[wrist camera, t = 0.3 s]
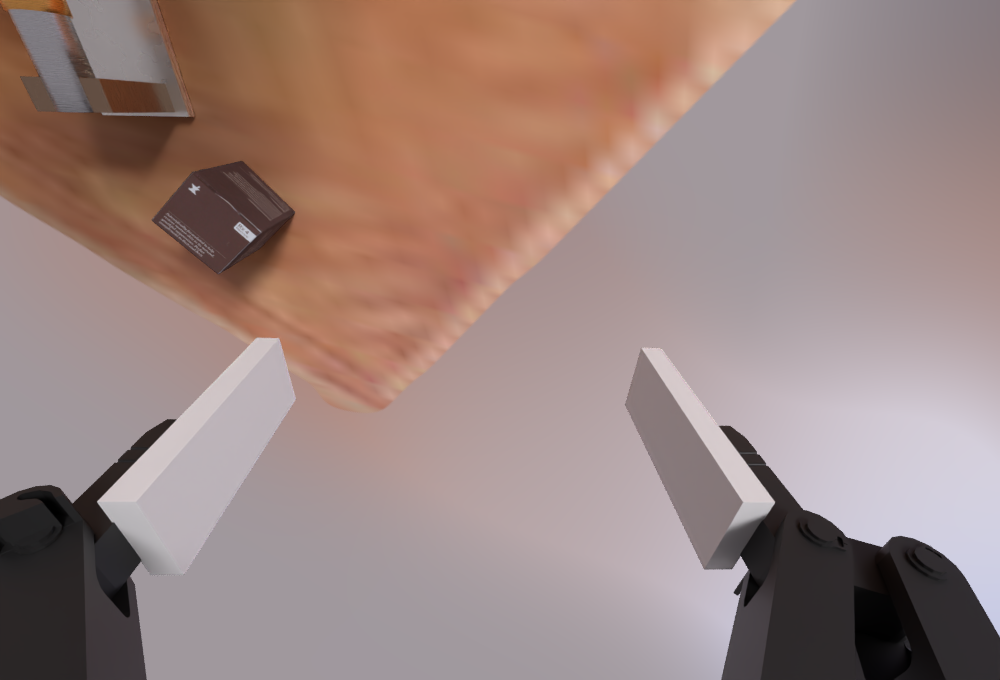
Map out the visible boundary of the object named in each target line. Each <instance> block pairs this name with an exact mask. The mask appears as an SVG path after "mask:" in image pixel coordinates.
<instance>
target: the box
mask: <svg viewBox="0 0 1000 680" xmlns="http://www.w3.org/2000/svg"><path fill="white" fill-rule="evenodd" d="M294 213H295V211H294V210H293V209H292V208H291V207H289V206H288V205H287V204H286V203H285V202H284V201H283V200H282V199H281V198H280V197H279V196H278V195H277V194H276V193H275V192H274V191H273V190H272V189H271V188H270V187H269V186H268V185H267V184H266V183H265V182H264V181H263V180H261V178H259V177H258V176H257V175H256V174H255V173H254V172H253V171H252V170H251V169H250V168H249V167H248V166H247V165H246V164H245V163H244V162H243V161H239V162H235V163H230V164H226V165H222V166H218V167H213V168H208V169H202V170H199V171H195V172H192V173H191V174H190V175H189V177H188V178H187V179H186V180H185V181H184V182H183V184H182V185H181V186H180V187H179V188H178V190H177V191H176V192H175V193H174V194H173V195H172V197H171V198H170V199H169V200H168V202H167V203H166V204H165V205H164V206H163V207H162V208H161V210H160V211H159V212H158V213H157V214H156V215H155V217H154V218H153V219H152V221H153V222H154V223H155V224H156V225H158V226H159V227H160V228H161V229H163V230H164V231H165V232H166V233H168V234H169V235H170V236H171V237H173V238H174V239H175V240H176V241H178V242H179V243H180V244H181V245H182V246H184V247H185V248H186V249H187V250H189V251H190V252H191V253H192V254H194V255H195V256H196V257H197V258H199V259H200V260H201V261H202V262H203V263H205V264H206V265H207V266H209V267H210V268H211V269H212V270H213V271H215V272H216V273H217V274H220V273H221V272H223V271H225V270H226V269H228V268H229V267H231V266H233V265H234V264H236V263H237V262H239V261H241V260H242V259H244V258H245V257H247V256H249V255H250V254H252V253H254V252H255V251H257V250H259V249H260V248H261V247H262V246H263V245H264V244H265V243H266V242H267V241H268V240H269V239H270V238H271V237H272V236H273V235H274V234H275V233H276V232H277V231H278V230H279V228H280V227H281V226H282V225H283V224H284V223H285V222H286V221H287V220H288V219H290V217H291V216H292V215H293V214H294Z"/></svg>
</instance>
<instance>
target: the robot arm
mask: <svg viewBox="0 0 1000 680" xmlns="http://www.w3.org/2000/svg"><path fill="white" fill-rule="evenodd" d="M295 400H296V398H295V394H294V390H293V387H292V383H291V379H290V376H289V372H288V368H287V365H286V361H285V358H284V354H283V350H282V347H281V343H280V339H279V338H256V339H255V340H254V341H253V342H252V343H251V344H250V345H249V346H248V348H246V349H245V350H244V351H243V352H242V354H241V355H240V356H239V357H238V358H237V359H236V360H235V361H234V362H233V363H232V364H231V365H230V366H229V367H228V368H227V369H226V370H225V371H224V372H223V373H222V374H221V375H220V376H219V377H218V378H217V379H216V380H215V381H214V382H213V383H212V384H211V385H210V386H209V387H208V388H207V389H206V390H205V391H204V392H203V394H201V396H200V397H199V398H198V399H197V400H196V401H195V402H194V403H193V404H192V405H191V406H190V407H189V408H188V409H187V410H186V411H185V412H184V413H183V414H182V415H181V416H180V417H179V418H178V419H177V420H176V419H175V420H173V419H167V420H165V421H164V422H163V423H161V424H159V425H157V426H156V427H154V428H152V429H151V430H149V431H147V432H146V433H145V434H144V435H143V436H142V437H141V438H140V439H139V440H138V441H137V442H136V443H135V444H134V445H133V446H132V447H131V450H127V451H126V453H124V454H123V455H122V456H121V457H120V458H119V459H118V462H117V463H114V464H113V465H112V466H111V467H110V468H109V469H108V470H107V471H106V472H105V473H104V474H103V475H102V476H101V477H100V478H99V479H98V480H97V481H96V482H94V484H93V485H91V486H90V487H89V488H88V489H87V490H86V491H85V492H84V493H83V494H82V495H81V496H80V497H79V498H78V499H77V500H76V501H75V502H74V503H73V504H72V503H71V502H70V500H69V499H68V498H67V496H66V495H65V494H64V492H63V491H62V490H61V489H60V488H58V487H55V486H52V485H47V486H36V487H32V488H29V489H25V490H22V491H18V492H16V493H14V494H12V495H9V496H7V497H5V498H3V499H0V680H147V679H146V672H145V663H144V655H143V647H142V640H141V631H140V623H139V615H138V607H137V599H136V591H135V584H134V582H133V581H132V579H131V577H130V575H131V574H132V572H133V571H134V570H135V568H136V567H137V566H138V564H139V563H140V562H142V564H143V565H144V566H145V568H146V569H147V570H148V572H149V573H150V574H151V575H184V574H185V573H186V571H187V569H188V568H189V566H190V565H191V563H192V562H193V560H194V558H195V557H196V555H197V554H198V552H199V550H200V549H201V547H202V546H203V544H204V543H205V541H206V539H207V538H208V536H209V535H210V533H211V532H212V530H213V529H214V527H215V525H216V524H217V522H218V521H219V519H220V518H221V516H222V514H223V513H224V511H225V510H226V508H227V507H228V505H229V503H230V502H231V500H232V499H233V497H234V495H235V494H236V492H237V491H238V489H239V488H240V486H241V485H242V483H243V481H244V480H245V478H246V477H247V475H248V473H249V472H250V470H251V469H252V467H253V466H254V464H255V463H256V461H257V459H258V458H259V456H260V455H261V453H262V452H263V450H264V449H265V447H266V445H267V444H268V442H269V441H270V439H271V437H272V436H273V434H274V433H275V431H276V429H277V428H278V426H279V425H280V423H281V422H282V420H283V419H284V417H285V416H286V414H287V412H288V411H289V409H290V408H291V406H292V404H293V403H294V401H295ZM625 406H626V408H627V410H628V412H629V413H630V415H631V418H632V420H633V422H634V424H635V426H636V429H637V431H638V433H639V435H640V437H641V439H642V441H643V443H644V445H645V447H646V449H647V451H648V454H649V456H650V457H651V460H652V462H653V464H654V466H655V468H656V470H657V472H658V474H659V476H660V478H661V480H662V483H663V485H664V487H665V489H666V491H667V493H668V495H669V497H670V499H671V501H672V504H673V506H674V508H675V509H676V512H677V513H678V516H679V518H680V520H681V522H682V524H683V526H684V529H685V531H686V533H687V535H688V537H689V538H690V541H691V543H692V545H693V547H694V549H695V551H696V553H697V555H698V558H699V560H700V562H701V564H702V566H703V568H704V569H732V568H733V567H734V565H735V564H736V562H737V561H738V559H739V558H740V556H741V557H742V559H743V560H744V562H745V564H746V566H747V568H748V569H749V570H748V572H747V573H746V575H745V576H744V578H743V579H742V580H741V582H740V584H739V585H738V586H737V588H736V589H735V591H734V594H736V595H739V594H740V592H741V595H740V598H739V603H738V607H737V612H736V616H735V621H734V625H733V630H732V634H731V639H730V643H729V648H728V652H727V657H726V661H725V665H724V670H723V675H722V680H1000V637H999V635H998V633H997V632H996V630H995V628H994V626H993V625H992V623H991V621H990V619H989V618H988V616H987V614H986V612H985V611H984V609H983V607H982V606H981V604H980V602H979V600H978V599H977V597H976V595H975V593H974V592H973V590H972V588H971V587H970V585H969V583H968V581H967V580H966V578H965V577H964V575H963V574H962V573H961V571H960V570H959V569H958V568H957V567H956V565H954V564H953V563H952V562H951V561H950V560H949V559H947V558H946V557H945V556H944V555H943V554H941V553H940V552H938V551H937V550H935V549H933V548H932V547H930V546H929V545H927V544H925V543H922V542H920V541H918V540H915V539H913V538H908V537H903V536H898V537H892V538H891V539H890V540H889V541H888V542H887V543H886V544H885V545H884V546H883V547H880V546H876V545H872V544H868V543H865V542H862V541H858V540H854V539H851V538H847V537H846V536H845V535H844V534H843V532H842V531H841V530H839V529H838V528H837V527H836V526H835V525H834V524H833V523H832V522H830V521H828V520H827V519H825V518H823V517H821V516H820V515H818V514H815V513H812V512H809V511H805V510H803V509H802V508H801V507H800V505H799V504H798V503H797V502H796V500H795V499H794V498H793V496H792V495H791V494H790V493H789V492H788V490H787V489H786V488H785V486H784V485H783V484H782V483H781V481H780V480H779V479H778V478H777V476H776V475H775V474H774V473H773V471H772V470H771V469H770V468H769V467H768V466H766V463H765V461H764V460H763V459H762V458H761V456H760V455H757V451H756V450H755V449H754V448H753V446H752V445H751V444H750V443H749V441H748V440H747V439H746V438H745V437H744V436H743V435H741V434H740V433H739V432H737V431H736V430H735V429H733V428H732V427H731V426H718V425H717V423H716V422H715V421H714V419H713V418H712V416H711V415H710V414H709V412H708V411H707V410H706V408H705V407H704V406H703V404H702V403H701V402H700V400H699V399H698V398H697V396H696V395H695V393H694V392H693V391H692V389H691V388H690V387H689V385H688V384H687V383H686V381H685V380H684V379H683V377H682V376H681V375H680V373H679V372H678V371H677V369H676V368H675V367H674V365H673V364H672V362H671V361H670V360H669V358H668V357H667V356H666V354H665V353H664V352H663V350H662V349H661V348H641V350H640V354H639V358H638V361H637V365H636V368H635V372H634V375H633V379H632V382H631V386H630V389H629V393H628V396H627V400H626V403H625Z"/></svg>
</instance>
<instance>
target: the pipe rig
mask: <svg viewBox="0 0 1000 680" xmlns="http://www.w3.org/2000/svg"><path fill="white" fill-rule="evenodd" d="M0 3H1V5H2V7H3V9H4V10H5V11H7V12H8V13H9V15H10V17H11V19H12V21H13V23H14V25H15V27H16V29H17V31H18V33H19V35H20V37H21V39H22V41H23V44H24V46H25V48H26V50H27V52H28V54H29V56H30V58H31V60H32V62H33V64H34V66H35V68H36V70H37V72H38V75H39V77H22V76H20V78H21V80H22V81H23V83H24V85H25V87H26V89H27V91H28V93H29V95H30V97H31V99H32V101H33V103H34V105H35V107H36V109H37V111H46V112H95V113H102V115H125V116H175V117H195V115H194V112H193V109H192V106H191V103H190V100H189V97H188V94H187V91H186V88H185V85H184V82H183V79H182V75H181V72H180V69H179V66H178V63H177V60H176V57H175V54H174V51H173V48H172V45H171V42H170V39H169V36H168V33H167V30H166V27H165V24H164V21H163V18H162V15H161V12H160V9H159V6H158V3H157V0H0Z"/></svg>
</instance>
